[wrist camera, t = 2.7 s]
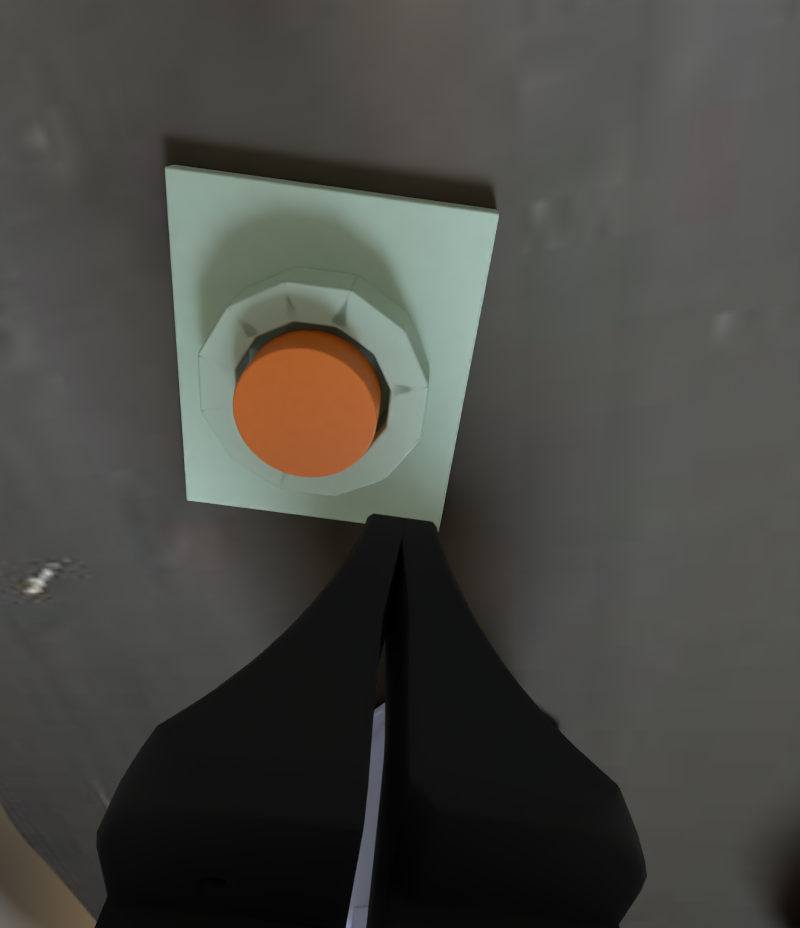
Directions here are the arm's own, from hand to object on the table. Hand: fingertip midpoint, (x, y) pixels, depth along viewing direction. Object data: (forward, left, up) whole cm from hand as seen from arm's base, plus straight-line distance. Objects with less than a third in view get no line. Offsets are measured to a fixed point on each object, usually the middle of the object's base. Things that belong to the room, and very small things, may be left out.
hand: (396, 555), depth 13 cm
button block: (-2, +2, -10) cm, 11 cm away
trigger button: (-2, +2, -8) cm, 9 cm away
